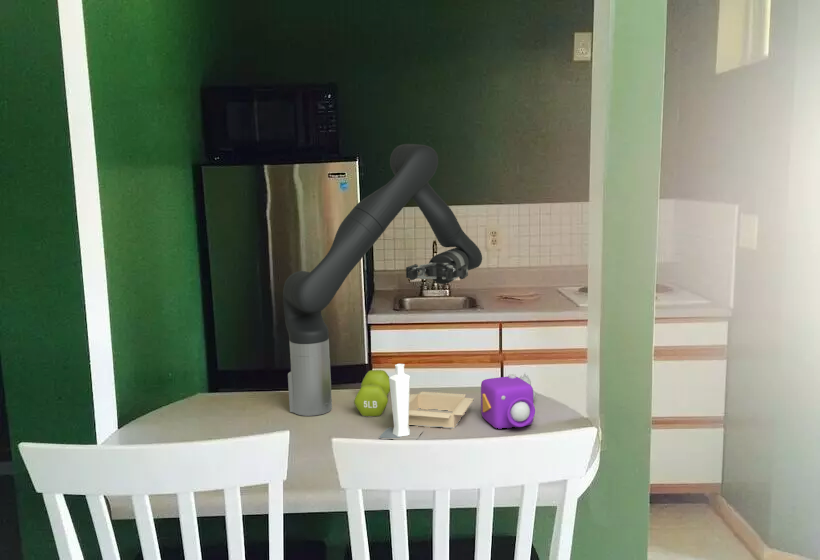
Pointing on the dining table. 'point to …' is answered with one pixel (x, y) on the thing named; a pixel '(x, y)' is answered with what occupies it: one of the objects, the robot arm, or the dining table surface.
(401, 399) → the white vase
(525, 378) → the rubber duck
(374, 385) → the dumbbell
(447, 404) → the carton
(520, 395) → the toy camera
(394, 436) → the mat
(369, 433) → the dining table surface
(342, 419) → the dining table surface
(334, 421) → the dining table surface
